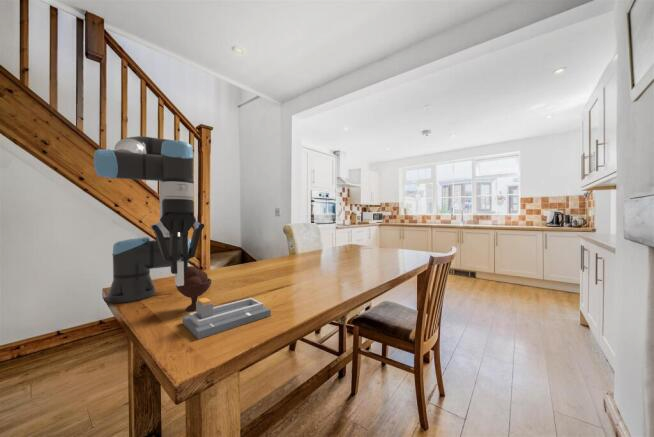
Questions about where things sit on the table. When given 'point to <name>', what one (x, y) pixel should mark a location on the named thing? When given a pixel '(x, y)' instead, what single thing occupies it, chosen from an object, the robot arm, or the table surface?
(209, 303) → the fader tab
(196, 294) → the ice cream bowl
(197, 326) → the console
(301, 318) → the table surface
